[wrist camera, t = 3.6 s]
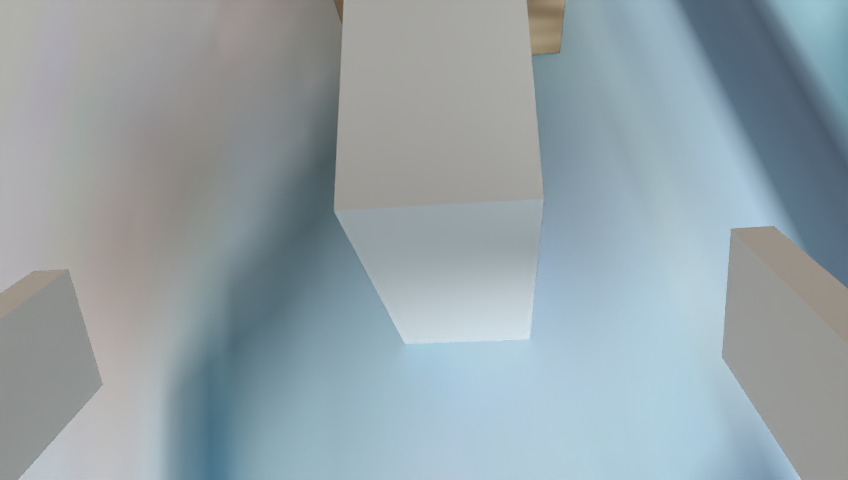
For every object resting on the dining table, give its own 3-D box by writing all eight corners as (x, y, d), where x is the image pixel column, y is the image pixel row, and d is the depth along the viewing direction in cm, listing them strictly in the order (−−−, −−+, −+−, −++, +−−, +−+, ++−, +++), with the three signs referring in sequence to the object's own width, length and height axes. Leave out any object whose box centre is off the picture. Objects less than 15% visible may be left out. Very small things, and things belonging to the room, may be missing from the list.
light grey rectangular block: (499, -76, 29) (494, -355, 20) (529, 339, 22) (544, 198, 13) (405, -66, 30) (359, -337, 20) (405, 344, 22) (333, 210, 13)
